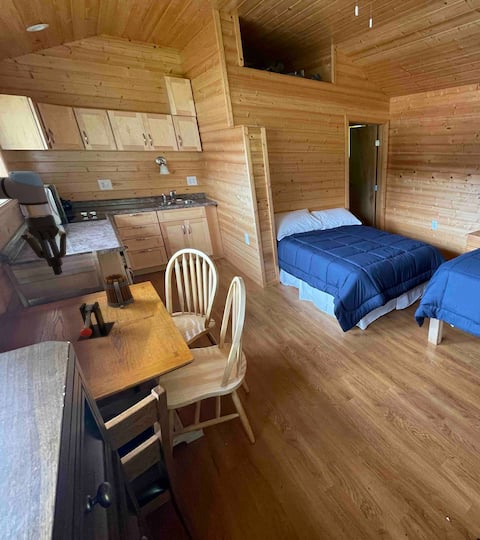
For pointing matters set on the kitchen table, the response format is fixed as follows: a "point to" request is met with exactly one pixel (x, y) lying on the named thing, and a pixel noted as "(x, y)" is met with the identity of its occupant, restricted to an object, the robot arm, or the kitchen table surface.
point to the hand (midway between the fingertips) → (58, 273)
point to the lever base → (99, 328)
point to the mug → (118, 291)
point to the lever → (87, 322)
